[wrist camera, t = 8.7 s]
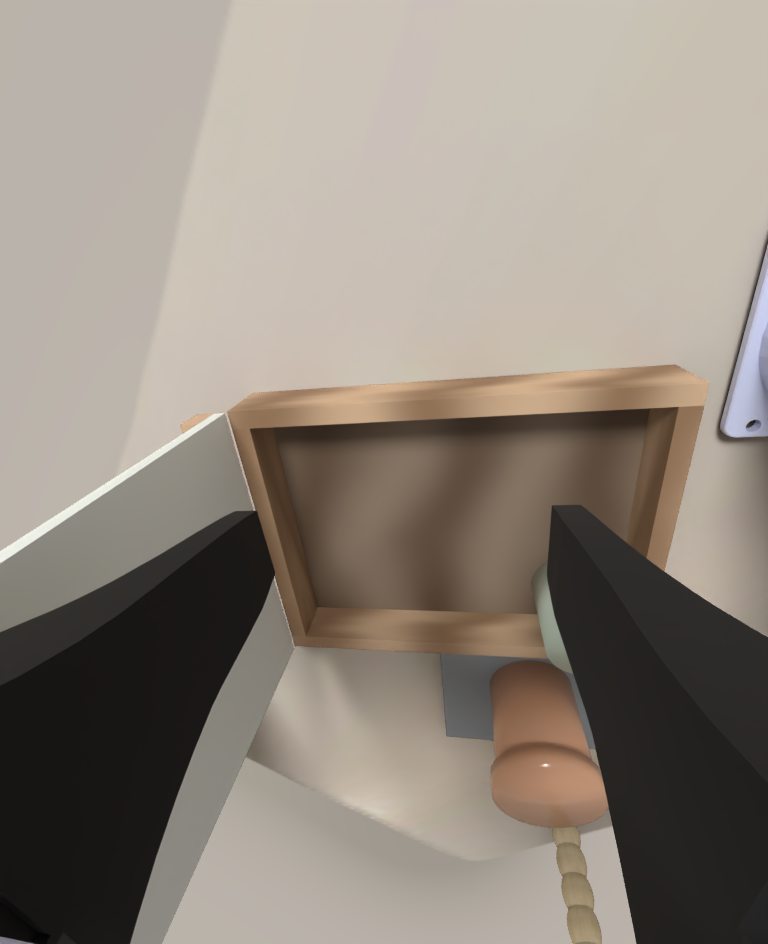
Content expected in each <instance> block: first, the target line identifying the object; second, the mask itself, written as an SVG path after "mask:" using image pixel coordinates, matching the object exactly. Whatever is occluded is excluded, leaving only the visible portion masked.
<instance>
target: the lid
mask: <svg viewBox="0 0 768 944" xmlns="http://www.w3.org/2000/svg"><path fill="white" fill-rule="evenodd" d="M180 427H181V429H182V432H183V434H182V435H180V436H179V437H177V438H176V439H174V440H173V441H171V442H169V443H168V444H166V445H165V446H163V447H162V448H160V449H159V450H157V451H155V452H154V453H152V454H151V455H149V456H148V457H146V458H145V459H143V460H141V461H140V462H138V463H137V464H135V465H134V466H132V467H131V468H129V469H127V470H126V471H124V472H123V473H121V474H120V475H118V476H117V477H115V478H113V479H112V480H110V481H109V482H107V483H106V484H104V485H103V486H101V487H99V488H98V489H96V490H95V491H93V492H92V493H90V494H89V495H87V496H85V497H84V498H82V499H81V500H80V501H78V502H76V503H75V504H73V505H71V506H70V507H68V508H67V509H65V510H64V511H62V512H61V513H59V514H57V515H56V516H54V517H53V518H51V519H50V520H48V521H47V522H45V523H43V524H42V525H41V526H39V527H38V528H36V529H35V530H33V531H31V532H29V533H28V534H26V535H25V536H23V537H22V538H20V539H19V540H17V541H15V542H14V543H12V544H11V545H9V546H8V547H6V548H5V549H3V550H2V551H0V632H2V631H4V630H7V629H9V628H11V627H14V626H16V625H18V624H21V623H23V622H26V621H28V620H30V619H33V618H35V617H38V616H40V615H42V614H45V613H47V612H49V611H52V610H54V609H56V608H59V607H61V606H63V605H65V604H67V603H69V602H71V601H74V600H76V599H78V598H80V597H82V596H84V595H86V594H88V593H90V592H92V591H94V590H96V589H98V588H100V587H102V586H104V585H106V584H108V583H110V582H112V581H114V580H115V579H117V578H119V577H121V576H123V575H124V574H126V573H128V572H130V571H132V570H133V569H135V568H137V567H139V566H140V565H142V564H144V563H146V562H147V561H149V560H151V559H153V558H155V557H156V556H158V555H160V554H161V553H163V552H165V551H166V550H168V549H170V548H171V547H173V546H175V545H176V544H178V543H180V542H181V541H183V540H185V539H186V538H188V537H190V536H191V535H193V534H195V533H196V532H198V531H200V530H201V529H203V528H205V527H206V526H208V525H210V524H212V523H213V522H215V521H217V520H219V519H220V518H222V517H224V516H226V515H228V514H230V513H232V512H235V511H253V508H252V504H251V501H250V498H249V494H248V491H247V487H246V484H245V481H244V477H243V474H242V470H241V467H240V464H239V460H238V457H237V453H236V450H235V447H234V443H233V440H232V436H231V433H230V430H229V426H228V423H227V419H226V416H225V413H221V414H199V415H196V416H194V417H192V418H191V419H189V420H187V421H186V422H184V423H182V424H181V425H180ZM293 650H294V647H293V644H292V640H291V637H290V634H289V630H288V627H287V623H286V620H285V617H284V613H283V610H282V606H281V603H280V600H279V596H278V593H277V589H276V586H275V583H274V579H273V581H272V584H271V587H270V590H269V593H268V596H267V599H266V601H265V604H264V606H263V609H262V611H261V613H260V615H259V617H258V619H257V621H256V623H255V625H254V627H253V628H252V630H251V632H250V634H249V636H248V638H247V640H246V642H245V644H244V646H243V648H242V649H241V651H240V653H239V655H238V657H237V659H236V661H235V663H234V665H233V667H232V668H231V670H230V672H229V674H228V676H227V678H226V680H225V682H224V684H223V685H222V687H221V689H220V691H219V694H218V696H217V698H216V700H215V702H214V704H213V706H212V708H211V711H210V713H209V716H208V718H207V721H206V723H205V725H204V728H203V730H202V733H201V735H200V738H199V740H198V743H197V745H196V747H195V750H194V753H193V755H192V758H191V761H190V763H189V766H188V769H187V771H186V774H185V777H184V779H183V782H182V784H181V787H180V790H179V792H178V795H177V798H176V801H175V804H174V807H173V810H172V812H171V815H170V818H169V821H168V824H167V827H166V830H165V833H164V836H163V839H162V842H161V845H160V848H159V851H158V853H157V856H156V860H155V863H154V866H153V869H152V873H151V876H150V879H149V883H148V886H147V889H146V892H145V896H144V899H143V902H142V905H141V909H140V912H139V915H138V918H137V922H136V925H135V929H134V932H133V936H132V939H131V943H130V944H162V942H163V940H164V937H165V935H166V933H167V931H168V928H169V926H170V924H171V922H172V920H173V917H174V915H175V913H176V911H177V908H178V906H179V904H180V902H181V900H182V897H183V895H184V893H185V891H186V888H187V886H188V884H189V882H190V879H191V877H192V875H193V873H194V871H195V868H196V866H197V864H198V862H199V859H200V857H201V855H202V853H203V851H204V848H205V846H206V844H207V842H208V839H209V837H210V835H211V833H212V830H213V828H214V826H215V824H216V822H217V819H218V817H219V815H220V813H221V810H222V808H223V806H224V804H225V802H226V799H227V797H228V795H229V793H230V790H231V788H232V786H233V784H234V781H235V779H236V777H237V775H238V773H239V770H240V768H241V766H242V763H243V761H244V759H245V757H246V755H247V752H248V750H249V748H250V746H251V744H252V741H253V739H254V737H255V735H256V732H257V730H258V728H259V726H260V723H261V721H262V719H263V717H264V715H265V712H266V710H267V708H268V706H269V703H270V701H271V699H272V697H273V694H274V692H275V690H276V688H277V686H278V683H279V681H280V679H281V677H282V674H283V672H284V670H285V668H286V665H287V663H288V661H289V659H290V657H291V654H292V652H293Z"/></svg>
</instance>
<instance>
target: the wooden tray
mask: <svg viewBox="0 0 768 944" xmlns="http://www.w3.org/2000/svg"><path fill="white" fill-rule="evenodd" d="M709 384H710V383H709V382H707V381H705V380H703V379H701V378H699V377H697V376H696V375H694V374H692V373H690V372H688V371H686V370H684V369H682V368H681V367H679V366H677V365H664V366H650V367H635V368H620V369H605V370H590V371H575V372H560V373H545V374H531V375H516V376H501V377H486V378H471V379H456V380H441V381H426V382H412V383H397V384H382V385H367V386H352V387H337V388H322V389H308V390H293V391H278V392H263V393H253V394H251V395H250V396H248V397H247V398H246V399H244V400H243V401H241V402H240V403H239V404H237V405H236V406H234V407H233V408H232V409H230V410H229V411H227V413H228V417H229V420H230V424H231V427H232V431H233V434H234V437H235V441H236V444H237V448H238V451H239V455H240V458H241V461H242V465H243V468H244V472H245V475H246V479H247V482H248V485H249V489H250V492H251V496H252V499H253V503H254V506H255V510H256V511H257V513H258V516H259V519H260V523H261V526H262V530H263V533H264V536H265V540H266V543H267V546H268V550H269V553H270V556H271V560H272V563H273V567H274V570H275V578H276V582H277V585H278V589H279V592H280V595H281V599H282V602H283V606H284V609H285V613H286V616H287V620H288V623H289V626H290V630H291V633H292V637H293V640H294V644H295V646H308V647H327V648H347V649H367V650H386V651H406V652H426V653H445V654H465V655H484V656H504V657H524V658H543V659H549V658H548V657H547V654H546V651H545V646H544V642H543V637H542V633H541V628H540V624H539V619H538V615H537V610H536V606H535V601H534V597H533V593H532V588H531V581H532V577H533V575H534V573H535V572H536V570H537V569H538V568H539V567H540V566H542V565H543V564H544V563H546V562H548V551H549V537H550V523H551V510H552V505H582V506H583V507H584V508H586V509H587V510H588V511H589V512H590V513H592V514H593V515H594V516H595V517H596V518H598V519H599V520H600V521H601V522H602V523H603V524H605V525H606V526H607V527H608V528H609V529H611V530H612V531H613V532H614V533H615V534H617V535H618V536H619V537H620V538H621V539H623V540H624V541H625V542H626V543H628V544H629V545H630V546H631V547H633V548H634V549H635V550H636V551H638V552H639V553H640V554H642V555H643V556H644V557H645V558H647V559H648V560H649V561H651V562H652V563H653V564H655V565H656V566H657V567H659V568H660V569H661V570H663V571H664V570H665V566H666V562H667V558H668V554H669V550H670V546H671V542H672V537H673V533H674V529H675V525H676V521H677V517H678V513H679V508H680V504H681V500H682V496H683V492H684V488H685V484H686V480H687V475H688V471H689V467H690V463H691V459H692V455H693V451H694V446H695V442H696V438H697V434H698V430H699V426H700V422H701V418H702V413H703V409H704V405H705V401H706V397H707V393H708V389H709Z"/></svg>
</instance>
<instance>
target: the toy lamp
mask: <svg viewBox="0 0 768 944" xmlns="http://www.w3.org/2000/svg"><path fill="white" fill-rule="evenodd" d="M552 835H553V839H554V842H555V844H556V845H557V848H558V849H557V864H558V868H559V870H560V873H561V875H562V876H563V879H562V894H563V898H564V901H565V904H566V906H567V908H568V913H567V925H568V930H569V934H570V937H571V940H572V942H573V944H602V936H601V930H600V926H599V922H598V920H597V917H596V915H595V914H594V912H593V909H594V897H593V892H592V889H591V886H590V884H589V882H588V880H587V879H586V875H587V866H586V861H585V858H584V855H583V853H582V851H581V850H580V843H581V840H580V834H579V830H578V828H577V826H575V827H567V828H552Z"/></svg>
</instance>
